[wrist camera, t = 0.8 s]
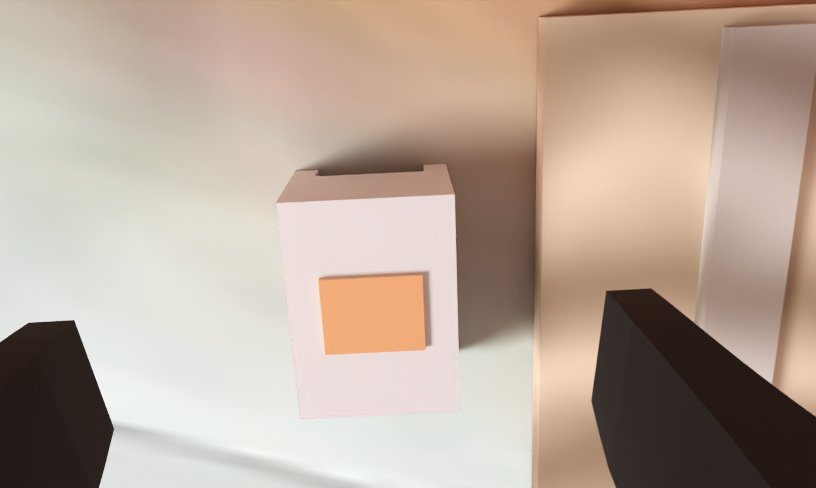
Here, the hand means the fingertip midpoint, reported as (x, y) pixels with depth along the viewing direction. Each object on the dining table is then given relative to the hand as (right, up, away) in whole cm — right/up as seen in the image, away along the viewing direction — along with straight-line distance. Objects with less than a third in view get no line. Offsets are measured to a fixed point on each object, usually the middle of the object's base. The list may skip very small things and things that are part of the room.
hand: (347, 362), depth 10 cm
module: (0, +1, +15) cm, 15 cm away
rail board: (+12, 0, +15) cm, 19 cm away
